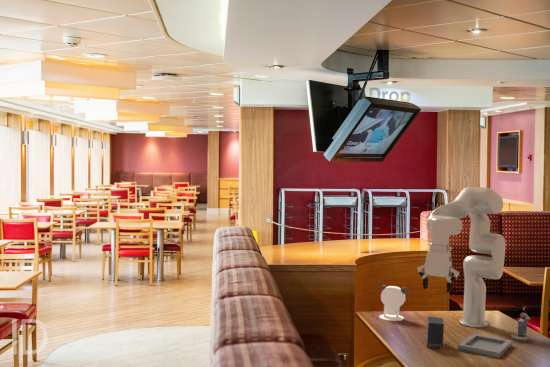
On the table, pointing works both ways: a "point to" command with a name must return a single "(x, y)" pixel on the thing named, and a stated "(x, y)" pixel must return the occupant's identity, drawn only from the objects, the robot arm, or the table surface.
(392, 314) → the panda figurine
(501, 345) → the tray
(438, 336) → the small box
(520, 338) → the figurine
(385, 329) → the table surface
